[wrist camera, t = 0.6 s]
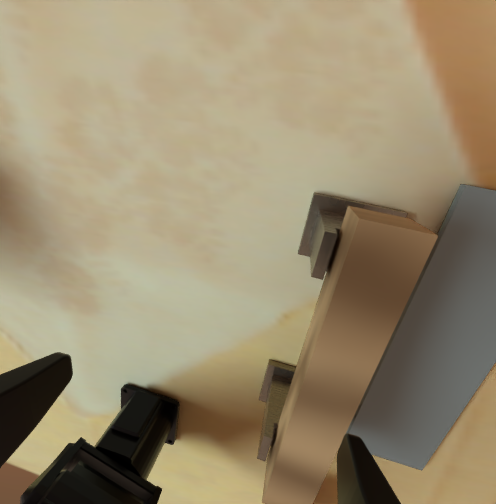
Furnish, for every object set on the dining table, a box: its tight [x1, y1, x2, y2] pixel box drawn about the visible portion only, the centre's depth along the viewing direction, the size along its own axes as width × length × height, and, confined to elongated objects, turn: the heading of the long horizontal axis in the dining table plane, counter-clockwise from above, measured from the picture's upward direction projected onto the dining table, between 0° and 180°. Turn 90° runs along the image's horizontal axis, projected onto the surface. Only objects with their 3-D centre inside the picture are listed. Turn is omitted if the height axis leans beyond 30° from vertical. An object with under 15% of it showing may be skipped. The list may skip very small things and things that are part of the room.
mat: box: [346, 184, 496, 470], centre depth 20 cm, size 24×7×1 cm, turn 170°
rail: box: [262, 206, 438, 504], centre depth 15 cm, size 20×3×3 cm, turn 170°
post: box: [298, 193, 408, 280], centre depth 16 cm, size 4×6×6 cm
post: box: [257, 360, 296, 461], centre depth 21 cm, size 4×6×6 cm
